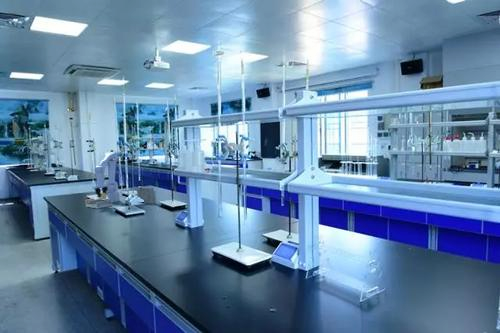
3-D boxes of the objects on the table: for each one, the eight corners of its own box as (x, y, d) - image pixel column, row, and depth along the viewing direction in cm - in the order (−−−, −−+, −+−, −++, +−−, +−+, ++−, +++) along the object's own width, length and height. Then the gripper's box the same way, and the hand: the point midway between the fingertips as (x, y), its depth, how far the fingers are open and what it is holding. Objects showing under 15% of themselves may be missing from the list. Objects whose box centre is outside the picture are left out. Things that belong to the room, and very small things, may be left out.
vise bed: (101, 203, 299) (100, 198, 298) (112, 205, 290) (112, 199, 290) (85, 206, 287) (85, 201, 286) (97, 208, 278) (96, 202, 278)
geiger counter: (156, 187, 293) (136, 185, 306) (150, 188, 288) (130, 186, 301) (157, 203, 294) (137, 200, 308) (151, 204, 289) (131, 202, 302)
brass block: (102, 198, 288) (102, 192, 288) (106, 198, 286) (105, 192, 285) (98, 199, 285) (97, 193, 285) (102, 199, 282) (101, 193, 282)
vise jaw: (95, 201, 301) (95, 197, 301) (101, 202, 296) (101, 198, 296) (82, 203, 291) (82, 200, 291) (88, 204, 286) (88, 201, 286)
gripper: (95, 181, 276) (96, 198, 277) (111, 179, 288) (112, 195, 289) (90, 181, 280) (91, 197, 281) (106, 179, 292) (107, 194, 293)
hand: (101, 196), depth 285 cm, fingers closed on brass block, 4 cm apart
